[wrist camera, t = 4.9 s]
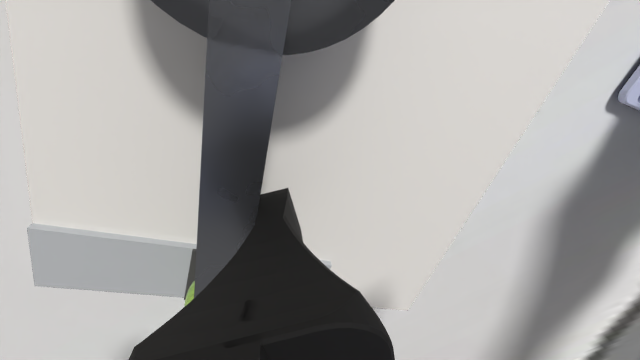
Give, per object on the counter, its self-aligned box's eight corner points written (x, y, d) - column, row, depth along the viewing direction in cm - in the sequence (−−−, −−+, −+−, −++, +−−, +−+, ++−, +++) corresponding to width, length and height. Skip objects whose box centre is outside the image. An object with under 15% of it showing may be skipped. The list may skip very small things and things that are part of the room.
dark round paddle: (91, -447, 5) (-84, -919, 3) (442, -251, 7) (550, -410, 4) (139, 287, 13) (108, 355, 10) (296, 291, 15) (303, 350, 12)
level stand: (638, -107, 10) (707, -129, 9) (398, 290, 19) (411, 316, 17) (-4, -595, 5) (-126, -870, 4) (60, 255, 14) (32, 288, 12)
